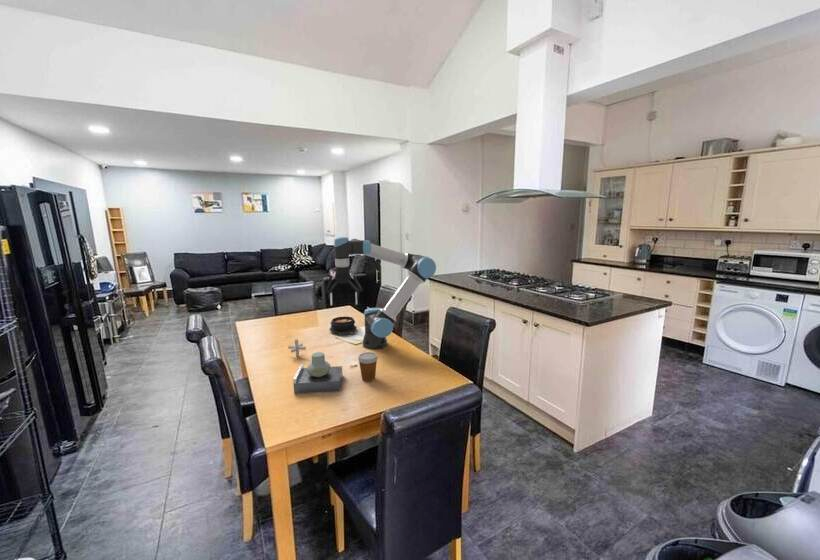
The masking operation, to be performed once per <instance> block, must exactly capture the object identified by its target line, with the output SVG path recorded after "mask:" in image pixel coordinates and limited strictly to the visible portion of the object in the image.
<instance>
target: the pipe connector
mask: <svg viewBox="0 0 820 560" xmlns="http://www.w3.org/2000/svg"><path fill="white" fill-rule="evenodd" d="M306 348H307V347H306V346H304V344H303V343H302V342H299V338H295V339H294V345H288V346H287V349H289V350H290V352H291V353H292V354H293V353H295V357H296V356H298V357H300V351H305V350H306Z"/></svg>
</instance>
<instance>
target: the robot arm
mask: <svg viewBox="0 0 820 560" xmlns="http://www.w3.org/2000/svg"><path fill="white" fill-rule="evenodd" d="M333 242H334V243H333V244H334V245H333V247H334V264H335V270H334V271H335V275H333V274H331V275H329V280H328V282H327V283H326V286H325V289H324V290H323V292H324V293H326V294H327V299H328V300H330V301H329V302H330V303H329V304H330V306H333V290H334V288H336V286H337V285H338V284H348V285H349V286H350V287H351V288H352V290H354V291H355V295H354V296H355V306H356V305H358V299H359V298H360V293H361V292H363V287H362V286H361V284H360V283H359V281H358V279H357V275H356V274H350V273H351V272H350V269H351V268H350V255H351V256H352V255H353V256H354V255H363V256H367V257H370V258H374V259H375V260H376V259H377V260H380V261H384V262H388V263H391V264H394V265H397V266H400V267H401V268H402V269H405V270H407V273H408V274H407V276H406V278H404V280H403V282H402V283H401V284H400V285H399V287H398V288H397V289H396V291H395V292H394V293H393V295H392V296H391V298H390V299H389V301H388V302H387V303H386V305H385V306H384V307H369V308H366V309H364V313H363V315H364V336H363V338H362V339H363V340H362V346H363V347H364V348H366V349H369V350H371V349H372V350H376V349H377V350H378V349H383V348H384V347H387V345H388V340H387V337H389V336H390V335H391V334H392V332H393V330H394V324H395V323H396V322H397V316H398V314H400V312H401V311H402V310H403V309H404V308H403V307H404V306H405V305H406V303H407V302H408V301H409V299H410V298H411V296H413V294H414V293H415V292H416V291H417V289H418V288H419V286H420V285H421V284H424V283H425V282H426V281H427V280H428V279H429V278H432V277H433V276H434V275H435V273H436V272H437V265H436V264H437V263H436V262H435V261H434V259H432V258H431V257H428V256H424V255H421V254H413V253H409V252H404V253H403V252H400V251H396V250H394V249H390V248H387V247H383V246H380V245H377V244H374V243H372V242H371V241H370V240H369V239H367V240H366V239H363V240H361V239H357V238H351V239H350V240H349V237H346V236H343V237H342V236H339V237H335V238H334V241H333ZM334 279H335V280H336V281H335V283H334V284H333V285H332V286H331V287H330V285H331V283H332V282H333V280H334ZM350 279H352V280H353V281H354V283H355V284H356V285H355V284H354V283H353V282H352V281H351V280H350Z"/></svg>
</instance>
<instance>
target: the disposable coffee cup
mask: <svg viewBox="0 0 820 560" xmlns="http://www.w3.org/2000/svg"><path fill="white" fill-rule="evenodd" d="M378 359H379V357H378V355H377V353H375V352H363V353H360V354H359V355H358V358H357V360H358V362H359V369H360V370H359V371H360V374H361V380H362V381H363V382H365V383H370V382H373V381H374V380H376V374H377V373H376V372H377V361H378Z"/></svg>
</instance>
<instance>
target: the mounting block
mask: <svg viewBox="0 0 820 560" xmlns="http://www.w3.org/2000/svg"><path fill="white" fill-rule="evenodd" d="M342 380H343V366H341V365H340V366H338V365H337V366H331V369H330V371H329V372H328V373H327V374H326V375H324V376H322V377H314V376H311V375H309V374H308V373H307V367H304V363H303V364H301V363H300V365H299V367H298V368H297V371H296V372H295V375H294V376H293V379H292V382H293V393H294V395H295V394H296V395H297V394H298V393H299V394H300V395H301V394H313V393H314V394H315V393H318V392H319V393H334V392H335V391H337V392H340V391H339V390H340V389H341V385H342ZM335 393H336V392H335Z"/></svg>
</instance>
